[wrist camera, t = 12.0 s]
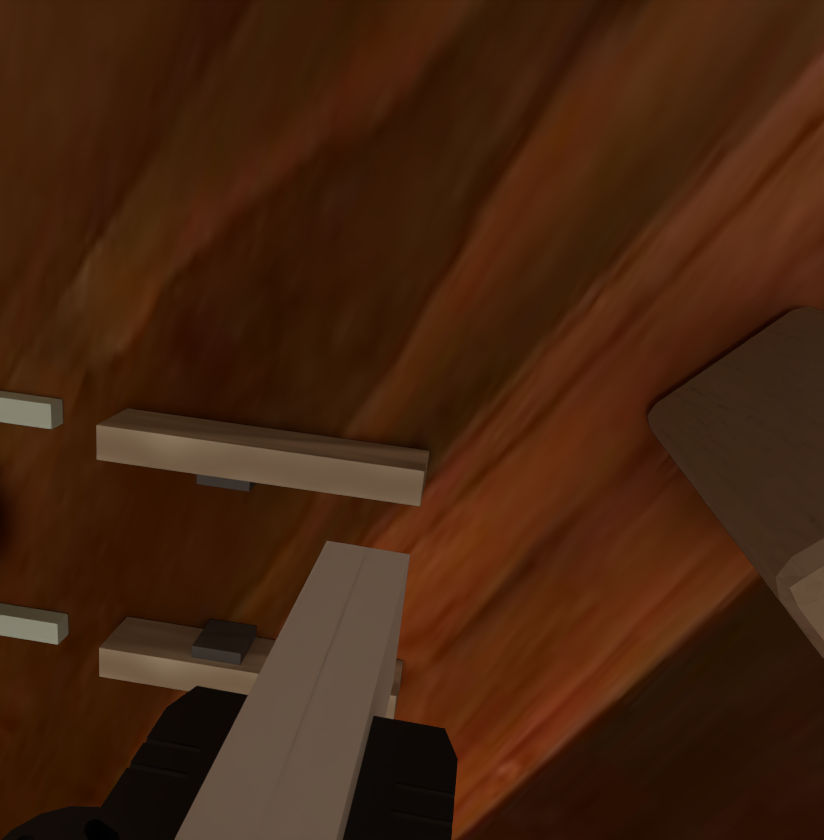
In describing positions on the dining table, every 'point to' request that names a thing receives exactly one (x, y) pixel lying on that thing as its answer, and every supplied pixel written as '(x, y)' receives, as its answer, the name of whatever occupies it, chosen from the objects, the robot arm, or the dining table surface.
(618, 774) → the dining table surface
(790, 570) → the wooden block
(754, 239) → the dining table surface
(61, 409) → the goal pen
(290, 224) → the dining table surface
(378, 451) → the twin plank rack
